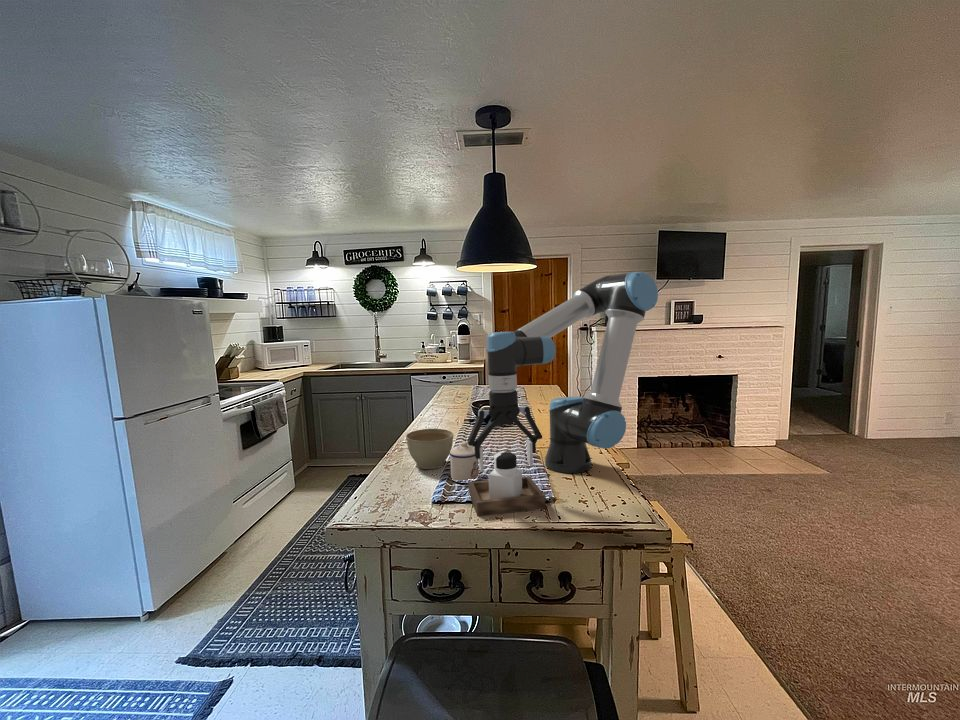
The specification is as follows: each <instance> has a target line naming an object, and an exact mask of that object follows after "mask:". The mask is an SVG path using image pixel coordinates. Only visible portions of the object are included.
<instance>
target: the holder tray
mask: <svg viewBox="0 0 960 720" xmlns="http://www.w3.org/2000/svg"><path fill="white" fill-rule="evenodd" d="M469 493H470V496H471V498H470V500H472V501H471V503H472V506H473V509H474V511H475V514H476V517H483V516H493V515H501V514H509V513H519V512H521V513H522V512H527V511H529V512H530V511H536V510H537V511H538V510H546V495H545V494H544V492H543V491H542V490H541V489H540V488H539V486H538V484H536V483H535V481H534V480H533V479H532V478H531V476H522V494H521V495H520V496H519V497H510V498H500V499H489V479H486V480H477V481H475V482H469V483H468V494H469ZM470 496H469V497H470Z"/></svg>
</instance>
